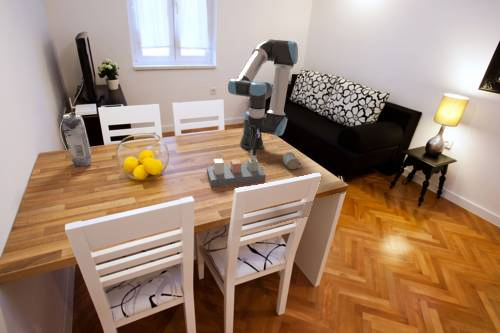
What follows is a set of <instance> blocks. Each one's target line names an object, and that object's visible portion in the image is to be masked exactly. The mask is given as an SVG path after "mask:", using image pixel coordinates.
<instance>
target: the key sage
mask: <svg viewBox="0 0 500 333" xmlns="http://www.w3.org/2000/svg"><path fill="white" fill-rule="evenodd" d="M247 163H248V164H247V169H248V171H249V172H255V171H258V164H259V161H258V159H257V158H256V160H254V161H251V160H250V158H247Z"/></svg>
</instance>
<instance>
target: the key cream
mask: <svg viewBox="0 0 500 333" xmlns="http://www.w3.org/2000/svg"><path fill="white" fill-rule="evenodd" d="M224 165H225V161H224V160H223V158H213V166H214V174H215V175H222V174H224Z"/></svg>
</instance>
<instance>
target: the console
mask: <svg viewBox="0 0 500 333" xmlns="http://www.w3.org/2000/svg"><path fill="white" fill-rule="evenodd" d="M247 164H248V162H245V163H241V173H233V174H232V172H231V164H224V174H222V175H215V174H214V165H210V166H206V174H207V179H208V182H209V184H210V188H216V186H217V187H225V185H227V186H235V184H237V185H243V184H246V185H247V184H255V183H264V182H266V174H265V172H264V170H263V169H262V167H261V166H260V164H259V163H258V171H255V172H249V171H248V169H247Z"/></svg>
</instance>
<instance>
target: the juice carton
mask: <svg viewBox="0 0 500 333" xmlns="http://www.w3.org/2000/svg"><path fill="white" fill-rule="evenodd" d="M62 117H63V119H62V121H61V123H62V130H63V133H64V136H65V141H66V145H67V148H68V152H69V155H70V158H71V162H72V164H73V166H74V168H81V167H80V166H83V167H88V166H87V165H90V166H91V165H92V151H91V147H90V142H89V137H88V134H87V130H86V126H85V122H84V119H83V117H82V114H68V113H67V114H64V115H62Z"/></svg>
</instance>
